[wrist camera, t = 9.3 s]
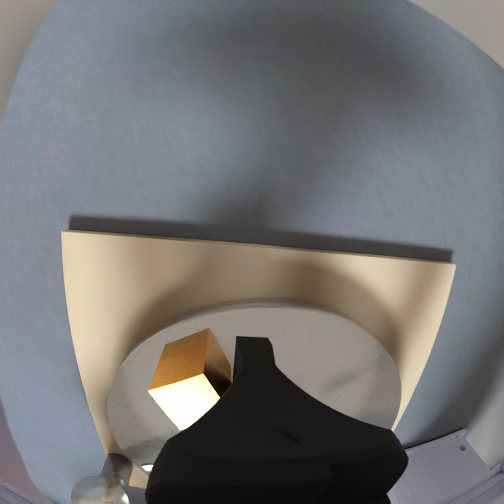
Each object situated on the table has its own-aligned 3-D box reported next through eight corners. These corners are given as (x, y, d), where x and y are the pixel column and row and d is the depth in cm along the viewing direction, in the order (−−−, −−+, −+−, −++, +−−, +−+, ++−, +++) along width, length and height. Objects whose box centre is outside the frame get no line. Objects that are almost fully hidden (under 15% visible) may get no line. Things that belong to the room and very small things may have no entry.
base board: (449, 261, 13) (456, 264, 13) (356, 480, 18) (358, 485, 17) (67, 229, 12) (61, 231, 11) (120, 477, 16) (119, 483, 15)
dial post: (142, 447, 15) (122, 529, 8) (147, 467, 16) (132, 541, 9) (94, 436, 15) (64, 510, 8) (103, 456, 15) (79, 525, 8)
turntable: (358, 237, 12) (414, 262, 8) (400, 439, 15) (424, 478, 11) (60, 360, 12) (23, 407, 8) (203, 504, 16) (202, 544, 12)
